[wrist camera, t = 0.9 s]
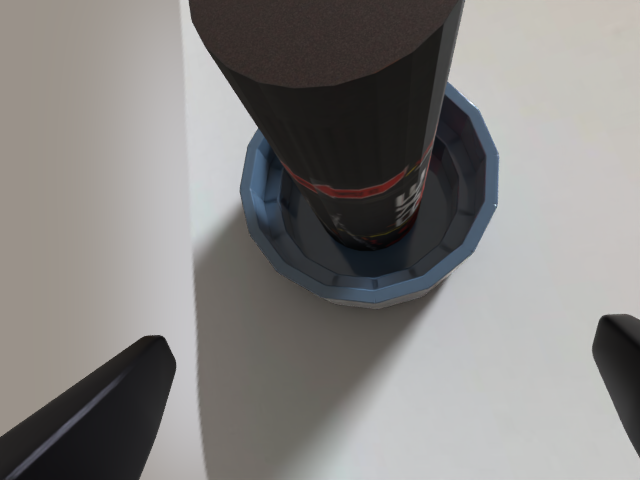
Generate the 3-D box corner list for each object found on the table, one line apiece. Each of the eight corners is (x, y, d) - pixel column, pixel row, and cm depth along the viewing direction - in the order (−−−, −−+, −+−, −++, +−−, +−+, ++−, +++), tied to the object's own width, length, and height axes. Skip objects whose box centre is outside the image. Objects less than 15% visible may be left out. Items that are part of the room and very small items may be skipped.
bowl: (472, 321, 20) (494, 318, 16) (254, 294, 22) (221, 286, 18) (481, 112, 22) (502, 60, 18) (284, 109, 25) (262, 63, 21)
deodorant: (395, 267, 21) (401, 127, 7) (301, 228, 22) (140, 44, 8) (435, 174, 22) (521, -132, 7) (342, 142, 23) (262, -163, 9)
